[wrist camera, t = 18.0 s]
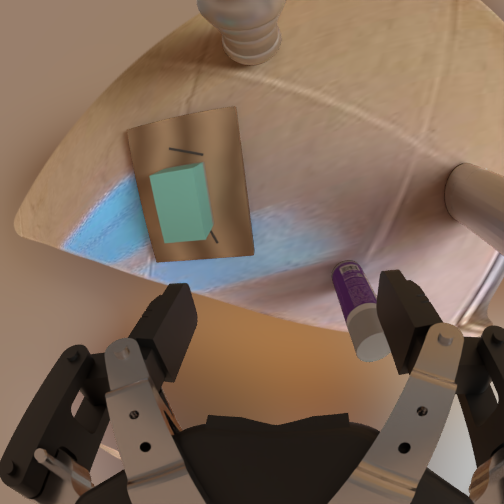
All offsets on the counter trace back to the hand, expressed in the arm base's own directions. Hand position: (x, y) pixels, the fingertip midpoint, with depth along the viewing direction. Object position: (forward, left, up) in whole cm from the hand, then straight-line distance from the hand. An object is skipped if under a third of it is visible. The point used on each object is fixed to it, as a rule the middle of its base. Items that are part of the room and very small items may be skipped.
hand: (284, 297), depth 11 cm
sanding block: (+11, +1, -23) cm, 25 cm away
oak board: (+11, 0, -25) cm, 27 cm away
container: (-9, +15, -25) cm, 30 cm away
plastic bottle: (+1, -17, -25) cm, 30 cm away
